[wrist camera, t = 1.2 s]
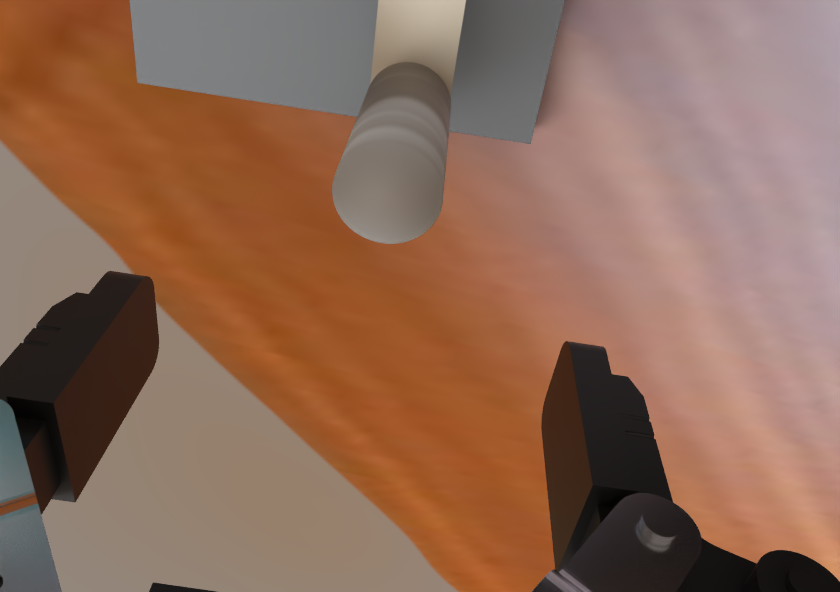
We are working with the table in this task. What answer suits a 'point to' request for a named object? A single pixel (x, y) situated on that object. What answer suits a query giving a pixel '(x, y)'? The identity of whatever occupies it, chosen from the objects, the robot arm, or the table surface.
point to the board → (344, 55)
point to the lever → (402, 123)
